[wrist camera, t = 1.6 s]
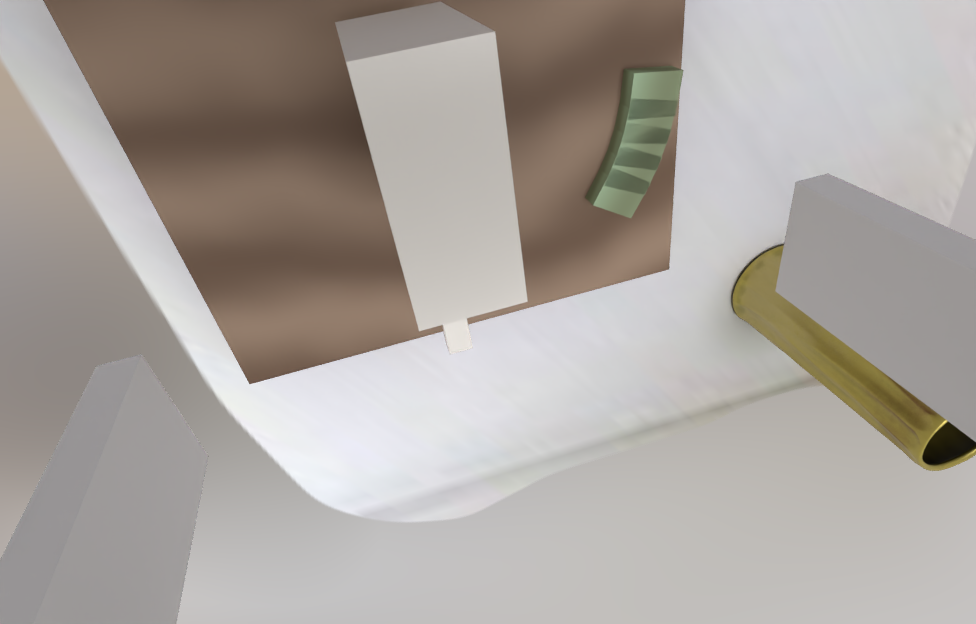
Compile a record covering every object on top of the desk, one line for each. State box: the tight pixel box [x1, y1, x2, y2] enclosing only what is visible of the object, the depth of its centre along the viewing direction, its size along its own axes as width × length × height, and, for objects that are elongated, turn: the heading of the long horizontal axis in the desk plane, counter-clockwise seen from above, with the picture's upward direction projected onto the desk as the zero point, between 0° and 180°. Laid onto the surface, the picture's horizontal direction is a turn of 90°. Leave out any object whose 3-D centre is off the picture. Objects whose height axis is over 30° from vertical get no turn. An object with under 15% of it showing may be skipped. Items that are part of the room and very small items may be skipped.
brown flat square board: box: [43, 0, 685, 384], centre depth 24 cm, size 24×24×3 cm
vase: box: [733, 245, 976, 471], centre depth 32 cm, size 6×6×14 cm
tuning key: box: [335, 2, 528, 354], centre depth 22 cm, size 16×4×10 cm, turn 8°
